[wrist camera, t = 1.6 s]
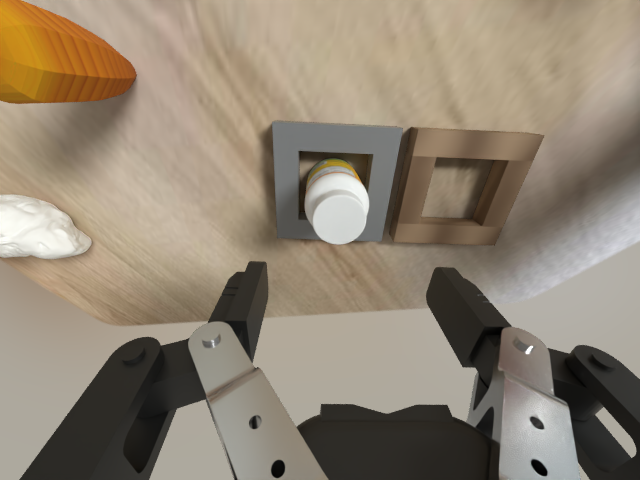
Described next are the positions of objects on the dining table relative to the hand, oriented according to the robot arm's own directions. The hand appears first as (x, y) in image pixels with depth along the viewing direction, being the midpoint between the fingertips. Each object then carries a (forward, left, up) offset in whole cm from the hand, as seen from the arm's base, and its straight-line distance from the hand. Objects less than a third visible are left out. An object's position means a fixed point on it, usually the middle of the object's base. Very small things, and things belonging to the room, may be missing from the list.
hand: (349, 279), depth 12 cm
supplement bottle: (0, 0, -17) cm, 17 cm away
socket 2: (-13, 0, -17) cm, 21 cm away
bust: (+32, +5, -17) cm, 36 cm away
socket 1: (0, 0, -17) cm, 17 cm away
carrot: (+18, -9, -17) cm, 26 cm away
